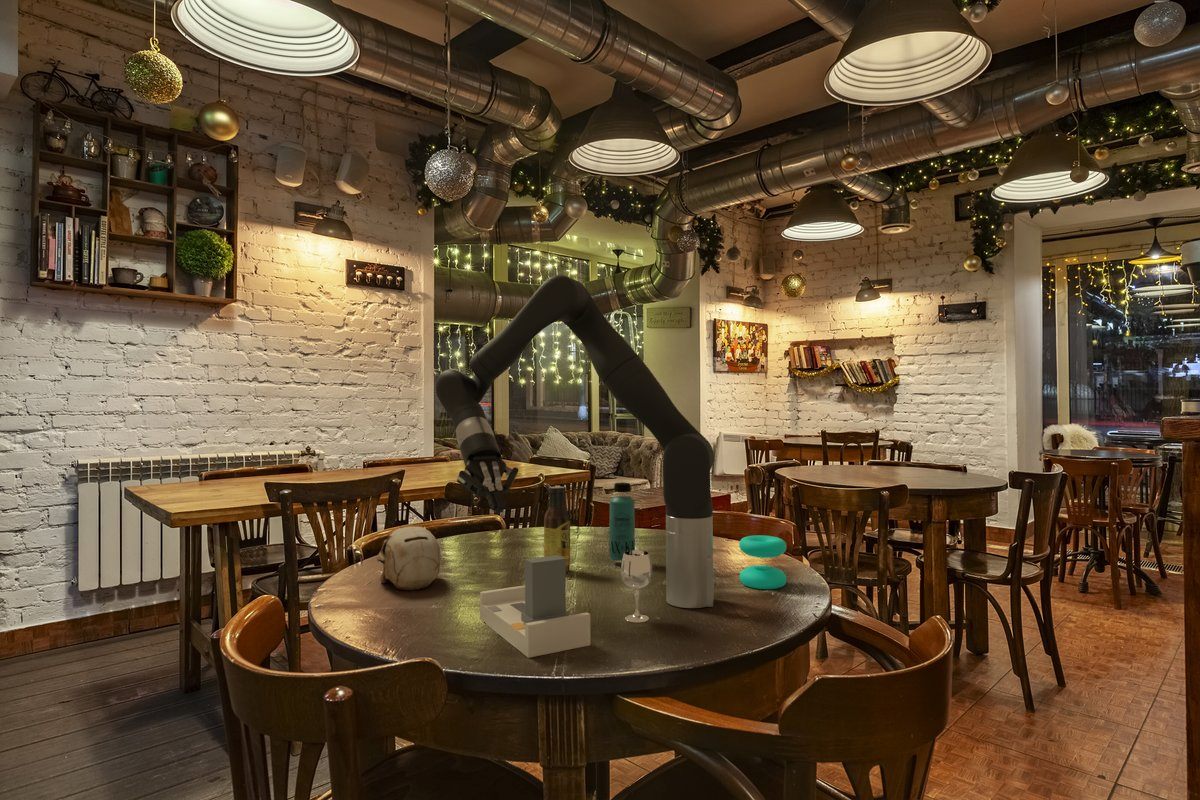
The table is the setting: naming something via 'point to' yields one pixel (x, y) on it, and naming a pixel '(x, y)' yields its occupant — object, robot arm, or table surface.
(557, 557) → the switch tab
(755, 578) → the donuts
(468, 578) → the table surface
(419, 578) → the coin bank
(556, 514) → the sauce bottle
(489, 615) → the tray
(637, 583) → the wineglass
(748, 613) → the table surface
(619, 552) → the beverage bottle
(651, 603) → the table surface
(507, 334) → the robot arm
